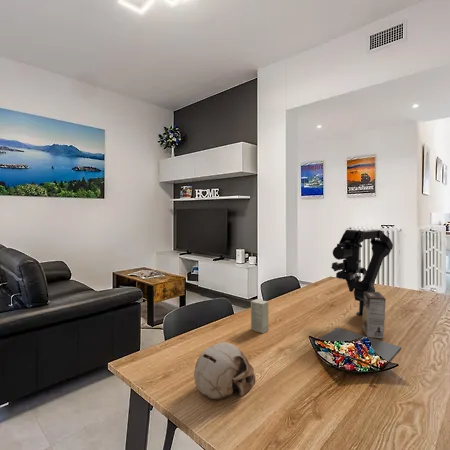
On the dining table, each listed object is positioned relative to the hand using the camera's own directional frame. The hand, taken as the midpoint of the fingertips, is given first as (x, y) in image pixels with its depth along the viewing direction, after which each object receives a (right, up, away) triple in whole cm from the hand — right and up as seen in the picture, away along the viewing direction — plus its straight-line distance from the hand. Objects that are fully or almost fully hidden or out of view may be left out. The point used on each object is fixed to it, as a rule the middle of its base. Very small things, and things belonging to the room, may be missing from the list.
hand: (351, 291), depth 135 cm
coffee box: (+3, -14, -14) cm, 20 cm away
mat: (-9, -14, -25) cm, 31 cm away
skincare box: (-43, -14, -12) cm, 47 cm away
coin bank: (-57, -16, -51) cm, 78 cm away
